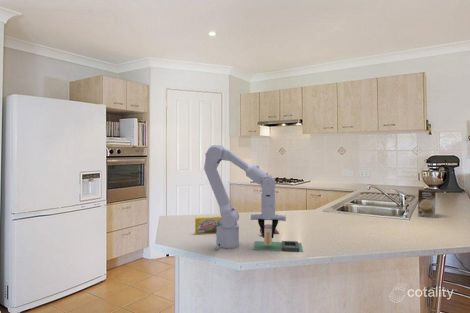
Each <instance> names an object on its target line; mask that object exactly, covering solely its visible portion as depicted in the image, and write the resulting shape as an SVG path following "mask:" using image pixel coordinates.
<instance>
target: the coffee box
mask: <svg viewBox="0 0 470 313" xmlns="http://www.w3.org/2000/svg"><path fill="white" fill-rule="evenodd" d="M417 198H418V200H417V217H421V218H423V217H424V218H429V219H430V218H431V219H435V218H436V190H434V189H433V190H431V189H418V194H417Z"/></svg>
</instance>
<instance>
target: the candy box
mask: <svg viewBox="0 0 470 313" xmlns="http://www.w3.org/2000/svg"><path fill="white" fill-rule="evenodd" d="M194 219H195V220H194V223H195V225H194V229H195V231H194V232H195V233H194V234H195V235H208V234H209V235H210V234H213V235H214V234H216V232H217V227H221V226H222V223H221V215H220V216H202V217H201V216H199V217H197V216H196V217H195V218H194Z"/></svg>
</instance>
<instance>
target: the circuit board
mask: <svg viewBox="0 0 470 313" xmlns="http://www.w3.org/2000/svg"><path fill="white" fill-rule="evenodd" d="M298 245H299V252H298V253H304V250H303V245H302V242H298ZM285 247H295V246H290V245H285ZM252 250H253V251H263V252H264V251H266V252H267V251H269V252H283V251H282V241H272V245H266V244H264V240H263V241H261V240H260V241H257V240H255V241H254V244H253V249H252ZM284 252H285V253H286V252H287V253H288V251H284Z"/></svg>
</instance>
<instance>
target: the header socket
mask: <svg viewBox="0 0 470 313" xmlns="http://www.w3.org/2000/svg"><path fill="white" fill-rule="evenodd" d="M281 242H282V251H281V252H285V251H288V252H290V253H300V252H299V245H298V243H299V241H298V240H297V241H296V240H295V241H293V240H281ZM285 245H290V246H295V247H285ZM288 252H287V253H288Z"/></svg>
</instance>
